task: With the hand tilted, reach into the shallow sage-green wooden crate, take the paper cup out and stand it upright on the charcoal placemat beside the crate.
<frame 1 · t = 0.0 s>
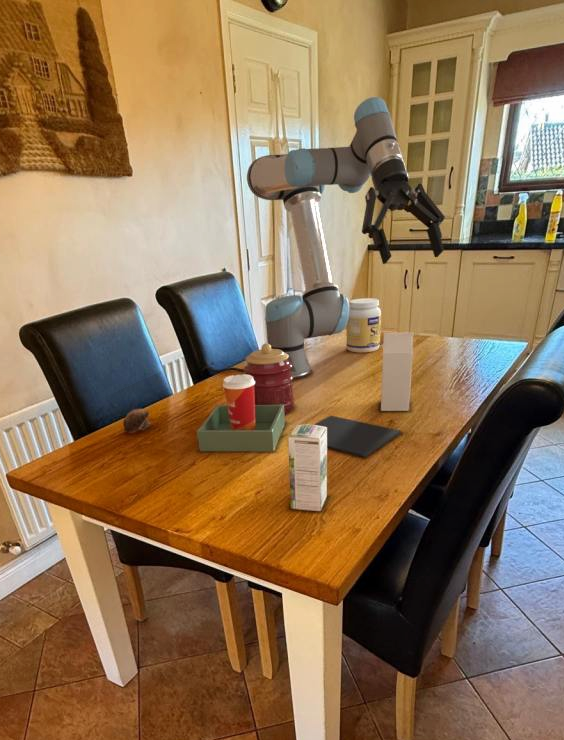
hand: (413, 256, 115), 36 cm above the table, tool tilted 35°, fingers open, 13 cm apart
placemat: (346, 436, 122), on the table
kitchen canister: (270, 409, 141), on the table
milk carton: (394, 407, 136), on the table
toy hedgehog: (138, 431, 134), on the table
supplement tub: (362, 349, 190), on the table
paper cup: (244, 435, 126), resting on crate
syrup box: (309, 504, 96), on the table
crate: (244, 436, 126), on the table
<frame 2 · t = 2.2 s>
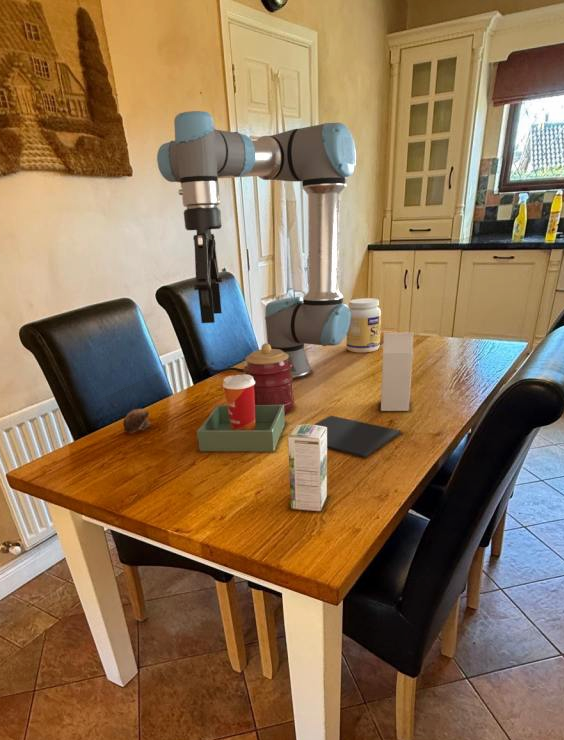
hand: (212, 318, 115), 27 cm above the table, tool pointing down, fingers open, 13 cm apart
nothing on the table moved.
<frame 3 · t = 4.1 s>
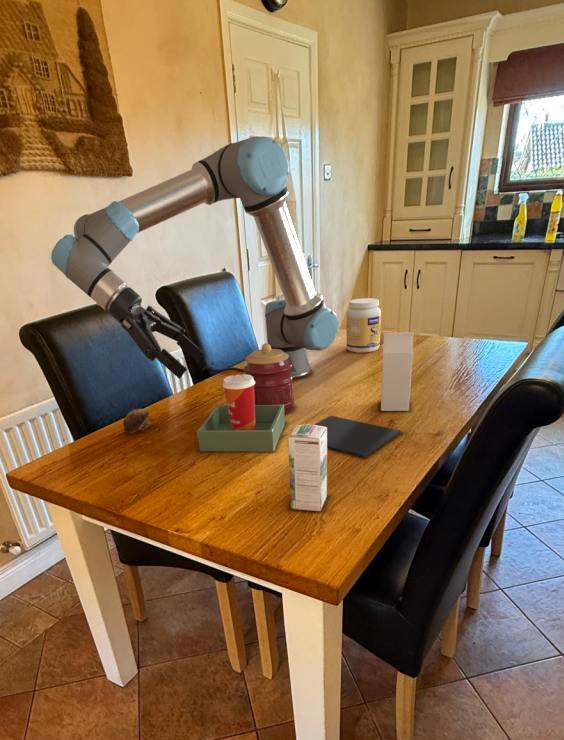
hand: (192, 365, 119), 18 cm above the table, tool tilted 45°, fingers open, 13 cm apart
nothing on the table moved.
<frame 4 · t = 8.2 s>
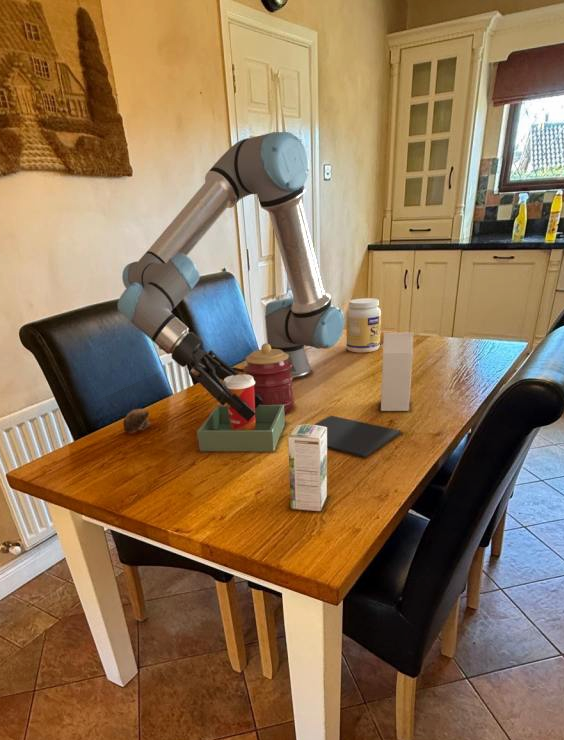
hand: (255, 410, 122), 7 cm above the table, tool tilted 45°, fingers closed on paper cup, 8 cm apart
paper cup: (244, 435, 126), resting on crate, touching gripper
everything else where it was.
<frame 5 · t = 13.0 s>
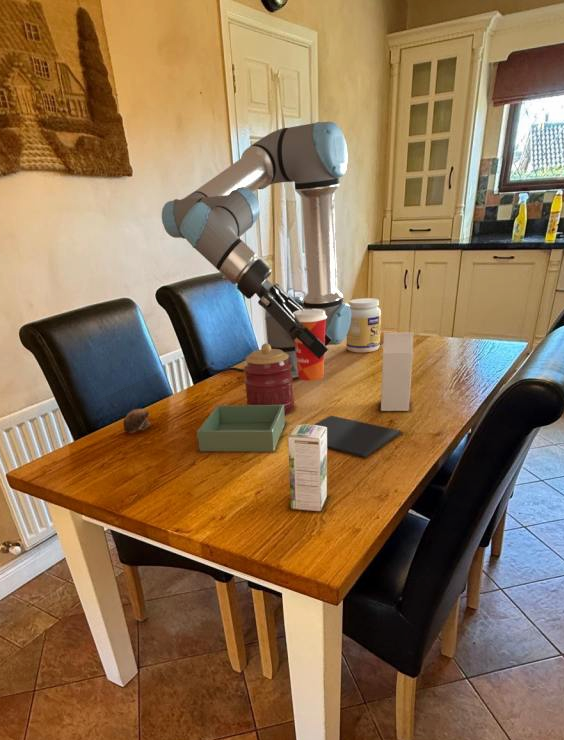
hand: (325, 348, 112), 21 cm above the table, tool tilted 45°, fingers closed on paper cup, 8 cm apart
paper cup: (311, 378, 116), point 14 cm above the table, touching gripper
everything else where it was.
when the fingers open (7 cm above the table, at t = 18.2 s): paper cup stays where it is, resting on placemat.
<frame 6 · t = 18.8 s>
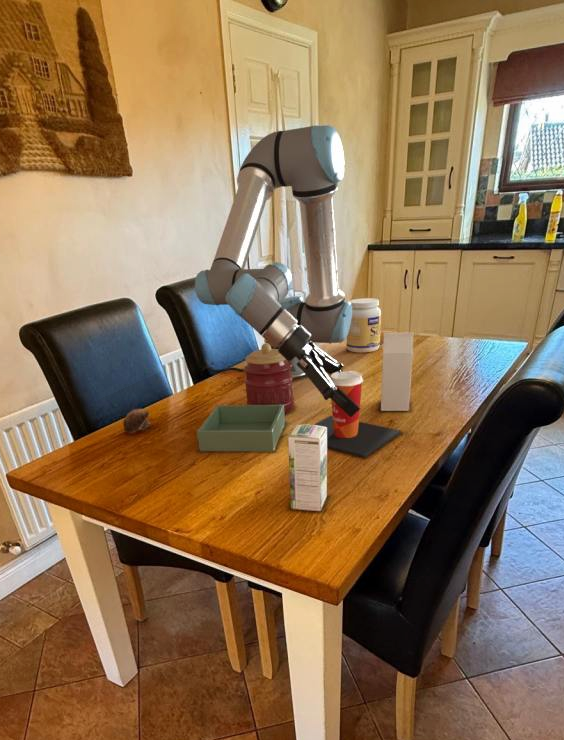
hand: (356, 402, 117), 8 cm above the table, tool tilted 45°, fingers open, 13 cm apart
paper cup: (345, 434, 121), resting on placemat
everything else where it was.
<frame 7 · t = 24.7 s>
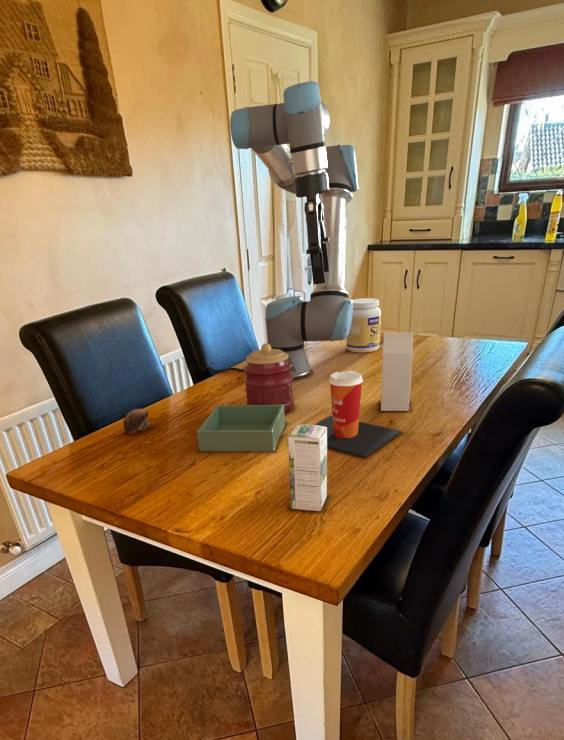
hand: (321, 277, 124), 32 cm above the table, tool pointing down, fingers open, 13 cm apart
nothing on the table moved.
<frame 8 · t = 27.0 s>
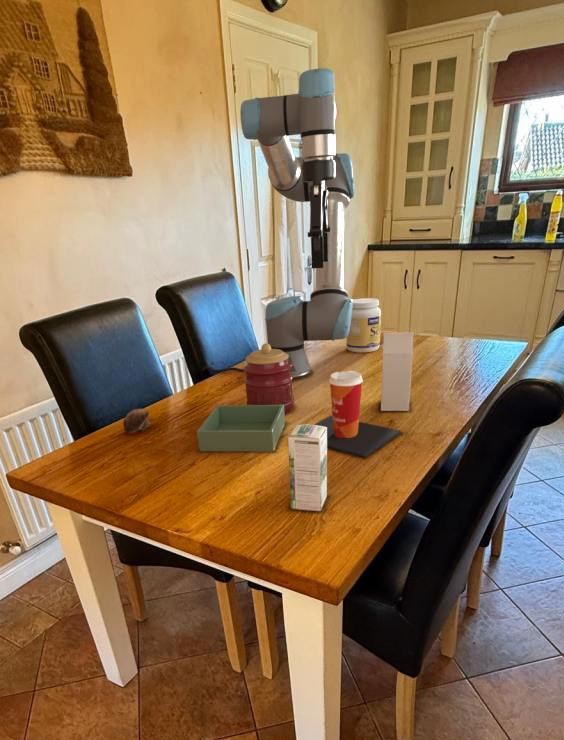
hand: (320, 265, 126), 35 cm above the table, tool pointing down, fingers open, 13 cm apart
nothing on the table moved.
at the end: paper cup inside the target area on the placemat (0.1 cm from its centre), point 0.4 cm above the placemat's base; paper cup tilted 0°; the gripper is holding nothing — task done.
